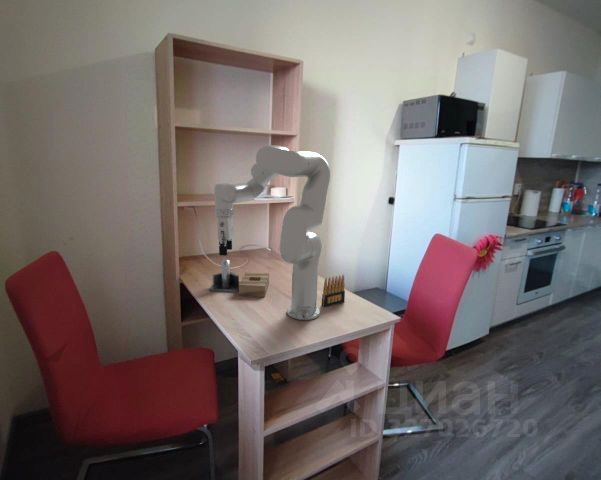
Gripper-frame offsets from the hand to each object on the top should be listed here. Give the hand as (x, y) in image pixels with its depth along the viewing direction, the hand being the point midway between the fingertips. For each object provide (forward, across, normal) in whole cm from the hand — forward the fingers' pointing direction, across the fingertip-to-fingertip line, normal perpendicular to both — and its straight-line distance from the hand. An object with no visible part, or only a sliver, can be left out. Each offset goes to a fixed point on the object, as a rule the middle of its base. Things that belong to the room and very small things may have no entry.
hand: (225, 252), depth 154 cm
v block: (+17, +2, +1) cm, 17 cm away
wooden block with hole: (+17, +1, -12) cm, 21 cm away
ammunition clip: (+18, -11, -46) cm, 51 cm away
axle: (+16, +1, +1) cm, 16 cm away
